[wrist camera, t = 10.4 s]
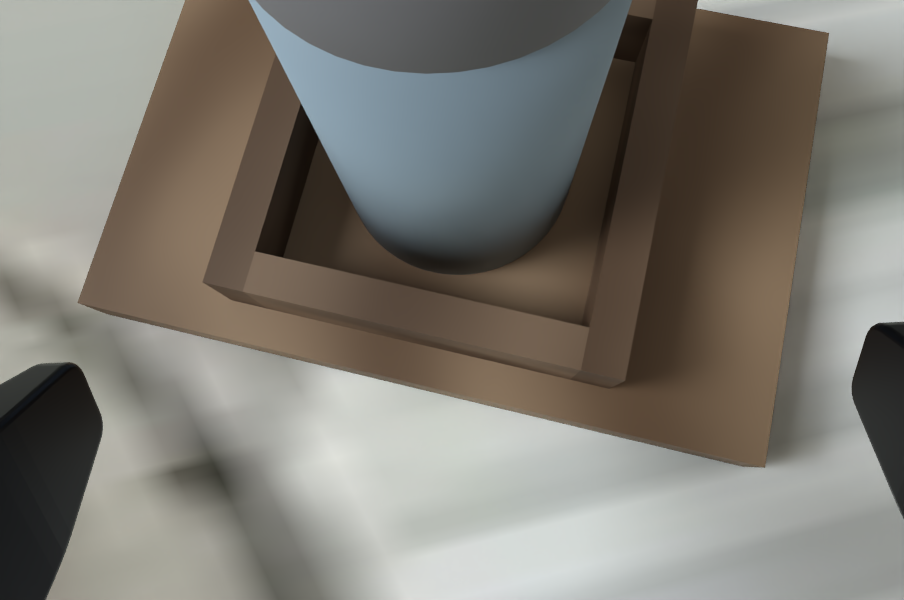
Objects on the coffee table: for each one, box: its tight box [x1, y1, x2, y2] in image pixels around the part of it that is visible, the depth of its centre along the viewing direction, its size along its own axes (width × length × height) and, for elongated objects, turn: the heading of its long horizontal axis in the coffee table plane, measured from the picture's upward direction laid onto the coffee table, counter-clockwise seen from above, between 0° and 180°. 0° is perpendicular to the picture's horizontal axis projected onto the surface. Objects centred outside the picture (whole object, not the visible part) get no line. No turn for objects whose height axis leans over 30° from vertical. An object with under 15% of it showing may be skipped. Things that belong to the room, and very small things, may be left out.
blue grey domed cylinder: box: [249, 0, 632, 275], centre depth 13 cm, size 6×6×13 cm
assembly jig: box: [78, 0, 829, 468], centre depth 19 cm, size 18×12×4 cm, turn 76°
